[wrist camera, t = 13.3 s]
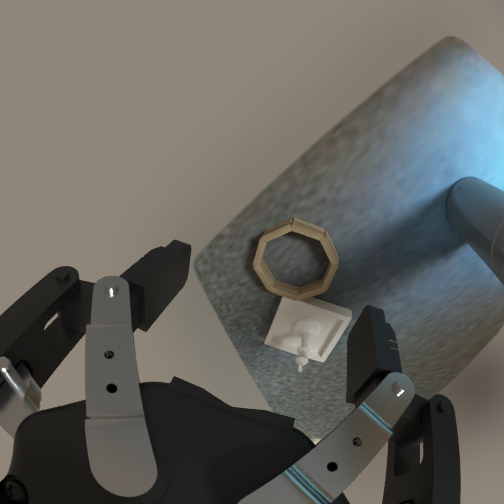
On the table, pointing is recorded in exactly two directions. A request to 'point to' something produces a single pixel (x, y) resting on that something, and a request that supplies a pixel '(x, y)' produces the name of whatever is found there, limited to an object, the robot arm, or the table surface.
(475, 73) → the table surface
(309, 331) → the chess piece
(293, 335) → the tray
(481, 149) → the table surface
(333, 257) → the holder ring
